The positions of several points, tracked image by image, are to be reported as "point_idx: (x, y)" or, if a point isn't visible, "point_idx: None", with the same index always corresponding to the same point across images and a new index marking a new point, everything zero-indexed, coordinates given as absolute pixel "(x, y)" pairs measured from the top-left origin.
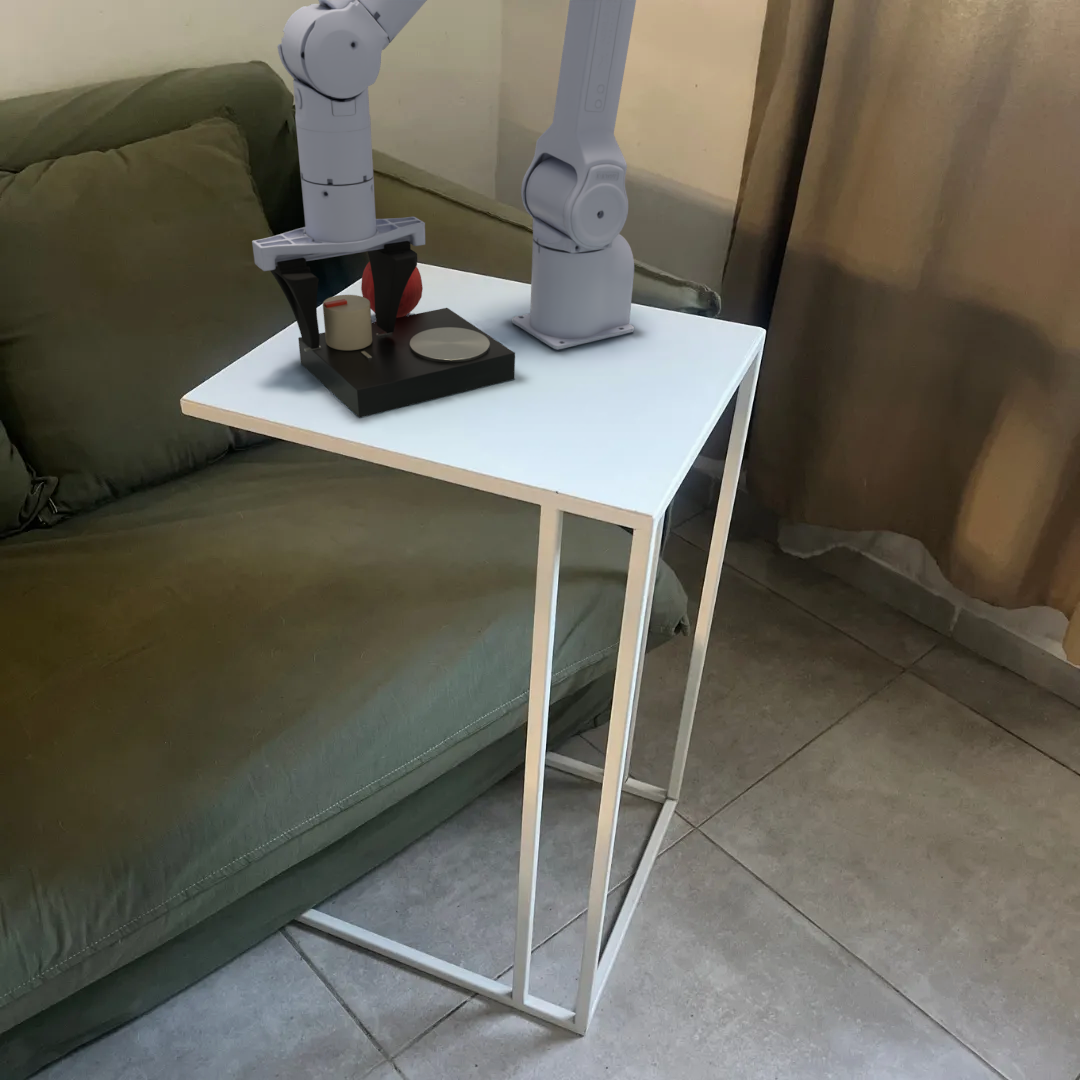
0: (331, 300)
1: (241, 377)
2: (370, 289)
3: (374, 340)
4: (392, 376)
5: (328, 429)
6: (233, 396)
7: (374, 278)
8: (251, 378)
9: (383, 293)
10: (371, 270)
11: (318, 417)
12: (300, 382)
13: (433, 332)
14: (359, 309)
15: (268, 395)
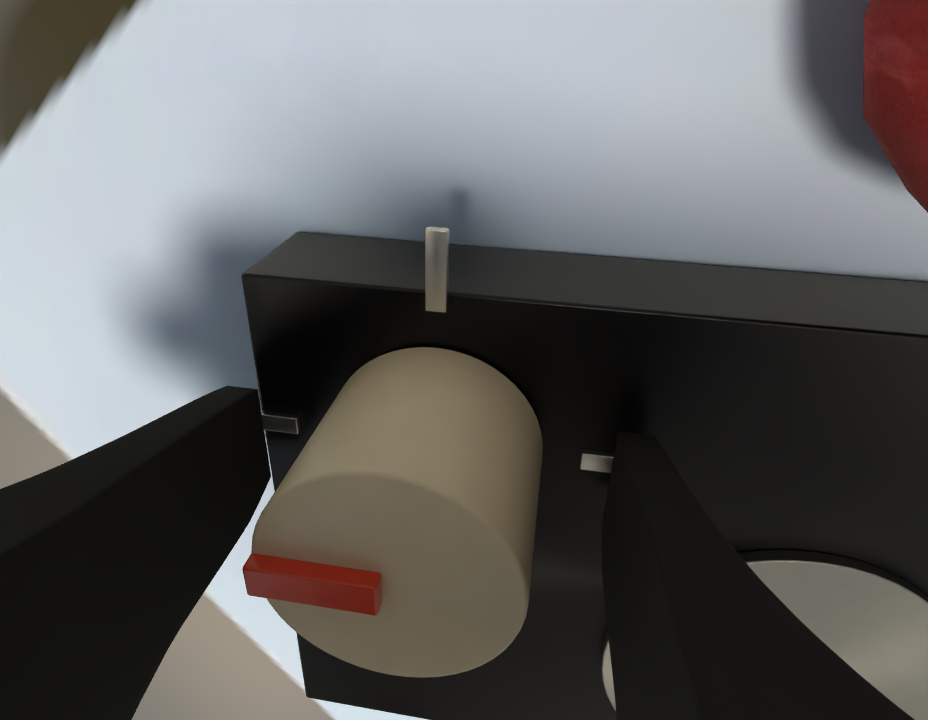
0: (319, 515)
1: (61, 215)
2: (911, 78)
3: (542, 483)
4: (438, 700)
5: (249, 614)
6: (30, 335)
7: (663, 623)
8: (96, 243)
9: (631, 658)
10: (677, 638)
11: (243, 562)
12: (253, 366)
13: (803, 592)
14: (409, 675)
15: (136, 389)
